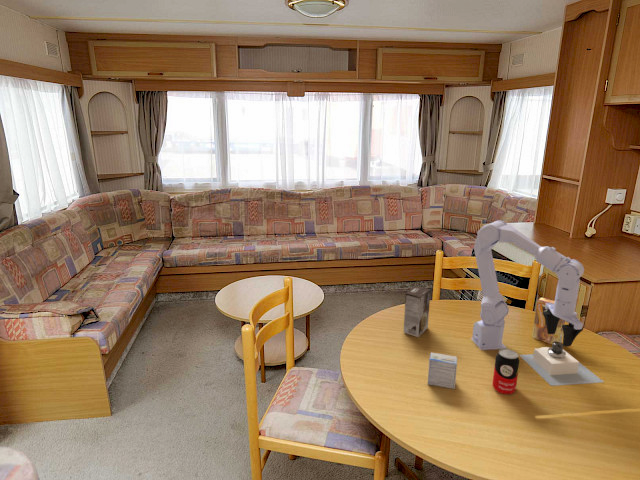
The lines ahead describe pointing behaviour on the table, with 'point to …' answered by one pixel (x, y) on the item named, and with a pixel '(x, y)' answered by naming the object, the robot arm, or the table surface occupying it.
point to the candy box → (541, 326)
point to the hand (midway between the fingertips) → (558, 339)
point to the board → (564, 379)
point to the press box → (555, 362)
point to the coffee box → (416, 311)
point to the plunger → (557, 350)
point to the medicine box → (442, 370)
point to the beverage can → (506, 371)
